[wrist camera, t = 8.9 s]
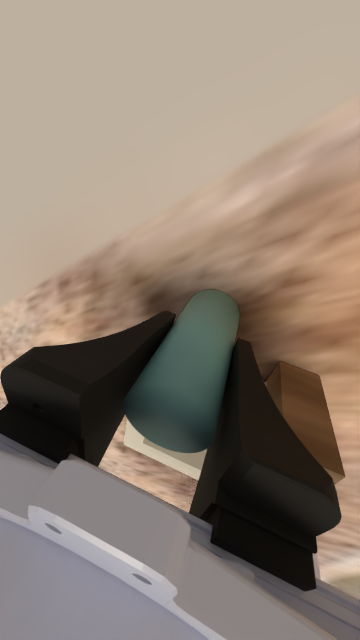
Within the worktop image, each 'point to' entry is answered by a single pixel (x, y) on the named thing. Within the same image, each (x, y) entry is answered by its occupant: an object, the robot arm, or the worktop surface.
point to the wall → (306, 414)
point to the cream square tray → (165, 453)
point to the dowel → (187, 376)
